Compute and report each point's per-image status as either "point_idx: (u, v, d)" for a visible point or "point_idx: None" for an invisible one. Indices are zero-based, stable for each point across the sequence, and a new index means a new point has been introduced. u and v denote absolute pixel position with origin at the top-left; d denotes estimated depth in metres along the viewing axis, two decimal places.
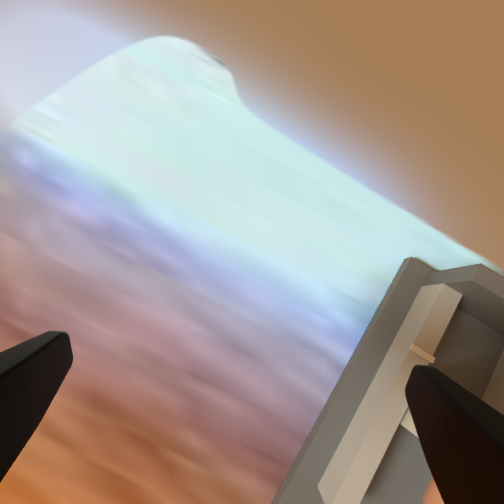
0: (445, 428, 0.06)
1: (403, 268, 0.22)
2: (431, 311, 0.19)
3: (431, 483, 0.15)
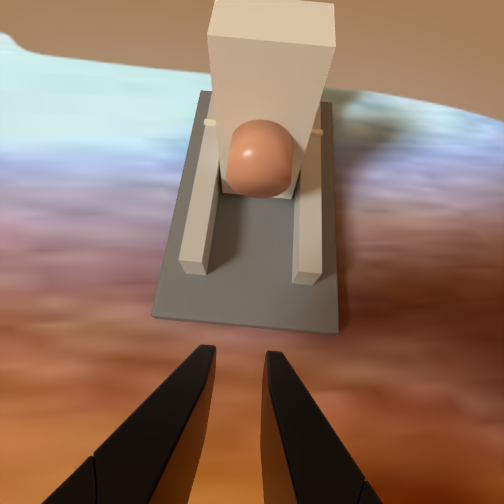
0: (265, 412, 0.06)
1: (199, 100, 0.26)
2: (212, 96, 0.23)
3: None
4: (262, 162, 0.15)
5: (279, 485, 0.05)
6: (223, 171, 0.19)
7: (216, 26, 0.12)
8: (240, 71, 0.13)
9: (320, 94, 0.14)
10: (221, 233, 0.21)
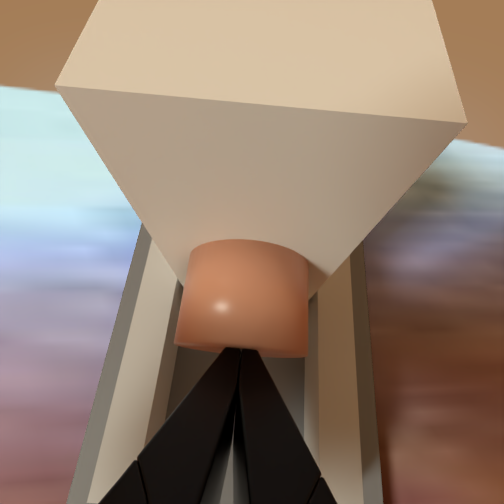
0: (236, 409, 0.06)
1: None
2: None
3: None
4: (246, 346, 0.07)
5: (241, 481, 0.05)
6: None
7: (92, 56, 0.04)
8: (183, 169, 0.05)
9: (384, 212, 0.06)
10: (184, 389, 0.12)
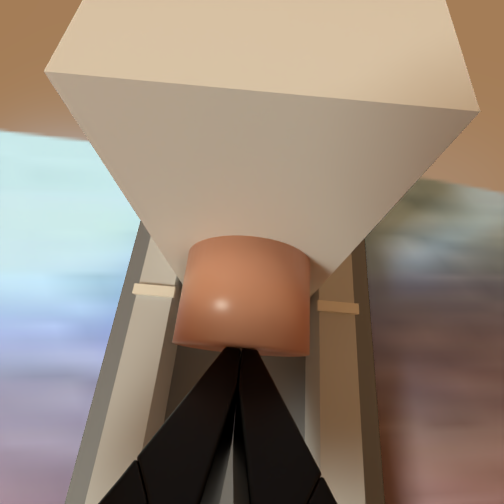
0: (236, 409, 0.06)
1: None
2: None
3: None
4: (247, 345, 0.06)
5: (241, 481, 0.05)
6: None
7: (84, 41, 0.04)
8: (181, 162, 0.05)
9: (389, 207, 0.05)
10: None
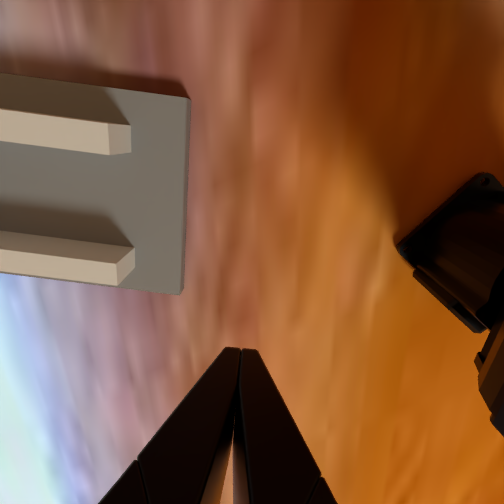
0: (236, 409, 0.06)
1: None
2: None
3: None
4: None
5: (241, 482, 0.05)
6: None
7: None
8: None
9: None
10: (82, 232, 0.18)
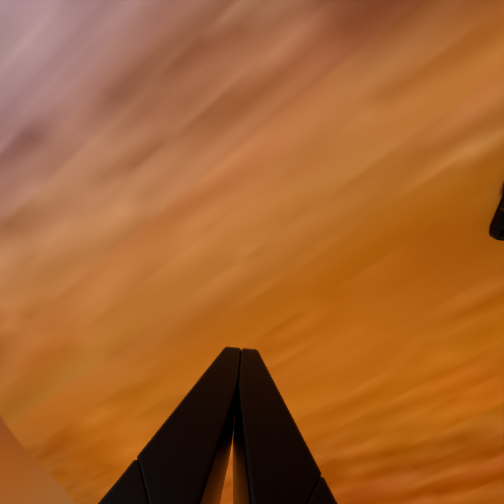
0: (236, 409, 0.06)
1: None
2: None
3: None
4: None
5: (241, 481, 0.05)
6: None
7: None
8: None
9: None
10: None
